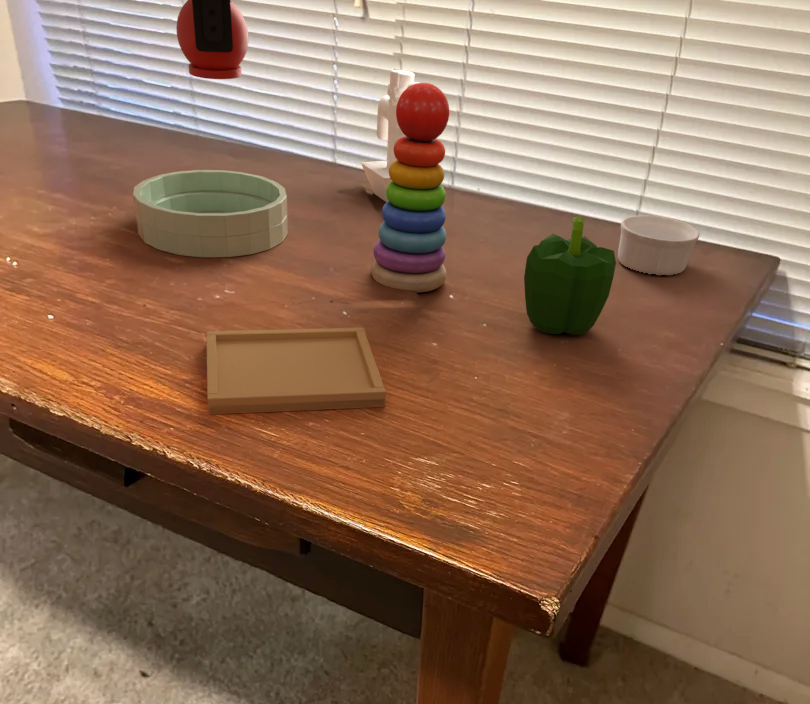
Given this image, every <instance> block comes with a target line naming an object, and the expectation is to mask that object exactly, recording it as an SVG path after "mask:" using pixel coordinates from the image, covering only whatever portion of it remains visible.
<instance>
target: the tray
mask: <svg viewBox="0 0 810 704" xmlns="http://www.w3.org/2000/svg"><path fill="white" fill-rule="evenodd" d="M205 334H206V391H207V393H206V397H207V398H206V399H207V409H208V415H225V414H226V415H228V414H251V413H252V414H253V413H269V412H270V413H273V412H295V411H296V412H297V411H316V410H317V411H319V410H321V411H323V410H340V409H341V410H342V409H343V410H344V409H363V408H364V409H367V408H385V407H386V403H387V402H386V401H387V399H386V398H387V391H386V387H385V385H384V383H383V380H382V376H381V374H380V371H379V368H378V365H377V362H376V360H375V357H374V354H373V351H372V348H371V345H370V343H369V340H368V337H367V334H366V331H365V328H364V327H328V328H327V327H326V328H325V327H324V328H323V327H322V328H293V329H292V328H286V329H285V328H282V329H280V328H279V329H243V330H207V331H206V333H205Z"/></svg>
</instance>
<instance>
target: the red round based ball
mask: <svg viewBox="0 0 810 704" xmlns="http://www.w3.org/2000/svg"><path fill="white" fill-rule="evenodd" d="M230 4H231V21H232V39H233V50H232V51H231V52H204V51H198V50H197V48H196V42H195V30H194V18H193V6H192V0H186V1H185V2H184V4H183V5H182V6H181V8H180V10H179V13H178V14H177V15H178V16H177V20H176V38H177V42H178V45H179V47H180V50H181V52H182V54H183V55H184V57H185V58H186V60H187V61H188V62H189V64H188V73H189V75H191V76H193V77H196V78H201V79H207V80H208V79H209V80H232V79H233V80H234V79H238V78H240V77H242V66H241V65H240V64H241V63H242V62H243V60H244V58H245V57H246V55H247V52H248V51H247V50H248V48H249V30H248V25H247V23H246V20H245V17H244V15H243V13H242V12H241V10H240V9H239V7H238V6H237V5H236V4H235V3H234V2H233V1H232V0H230Z"/></svg>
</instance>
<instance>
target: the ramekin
mask: <svg viewBox="0 0 810 704" xmlns="http://www.w3.org/2000/svg"><path fill="white" fill-rule="evenodd" d="M700 235H701V234H700V231H699V230H698V229H697V228H695V226H692V225H691V224H689V223H687V222H684V221H681V220H679V219H676V218H675V219H674V218H670V217H665V216H658V215H647V214H646V215H645V214H641V215H631V216H627V217H625V218H623V219H622V220H621V222H620V237H619V244H618V250H617V259H618V262H619V263H620V264H621V265H622V266H624V267H625V268H627V267H628V269H629V268H630V270H632V269H633V270H632V271H634V270H636V271H635V272H637V271H639V272H638V273H641V272H643V273H642V274H645V273H648V274H647V275H651V274H656V275H655V276H661V275H667V276H675V275H678V273H679V274H681V273H682V272H683V271H685V270H686V268H687V266H688V264H689V261H690V258H691V255H692V253H693V251H694V248H695V245H696V243H697V242H698V240H699V238H700ZM674 274H675V275H674Z"/></svg>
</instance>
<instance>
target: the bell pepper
mask: <svg viewBox="0 0 810 704" xmlns="http://www.w3.org/2000/svg"><path fill="white" fill-rule="evenodd" d="M571 223H572V228H571V236H570V239H567V238H564V237H561V236H560V235H558V234H555V233H551V234H550V235H548V236H547V237H545V238H544V239H542V240H541V241H540V242H539V244H537V245H533V247H532V248H531V250H530V251H529V252H528V255H527V256H526V261H525V269H524V275H523V282H524V299H525V308H526V309H525V310H526V315H527V317H528V319H529V321H530V323H531V324H532V326H533V327H534V328H535V329H536V330H538V331H541V332H544V333H546V334H551V335H552V334H553V335H559V334H562V333H566V334H569V335H576V336H577V335H578V336H582V335H584V334H586V333H588V332H589V331H590V330H591V329H592V328H593V327H594V326H595V324H596V322H597V320H598V319H599V317H600V316H601V313H602V311H603V309H604V307H605V305H606V303H607V301H608V298H609V296H610V292H611V288H612V285H613V280H614V276H615V270H616V266H617V261H616V260H617V259H616V255H615V250H613V249H609V248H606V247H604V246H603V247H602V246H597V245H596V244H595V243H594V242H593V241H592V240H590V239H589V238H588V237H587V236H583V233H584V226H585V225H584V218H583V217H582V216H574V217H573V218H572V220H571Z"/></svg>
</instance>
